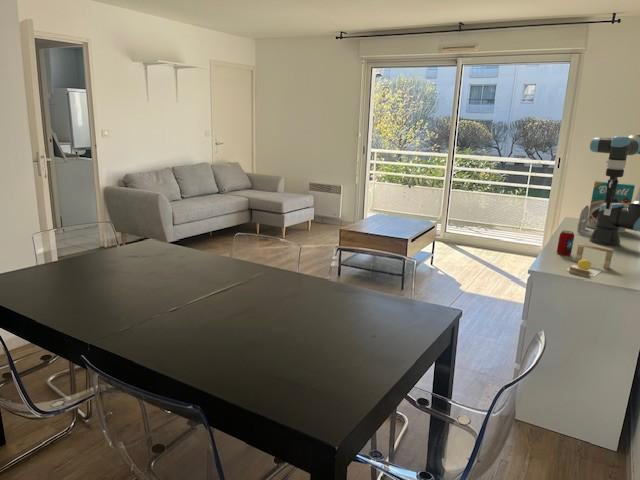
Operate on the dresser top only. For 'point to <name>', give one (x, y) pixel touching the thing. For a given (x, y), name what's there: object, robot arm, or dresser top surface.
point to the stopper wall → (579, 271)
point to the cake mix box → (599, 195)
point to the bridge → (608, 250)
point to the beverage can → (565, 243)
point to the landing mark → (592, 271)
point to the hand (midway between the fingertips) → (606, 214)
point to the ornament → (584, 223)
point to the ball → (584, 264)
